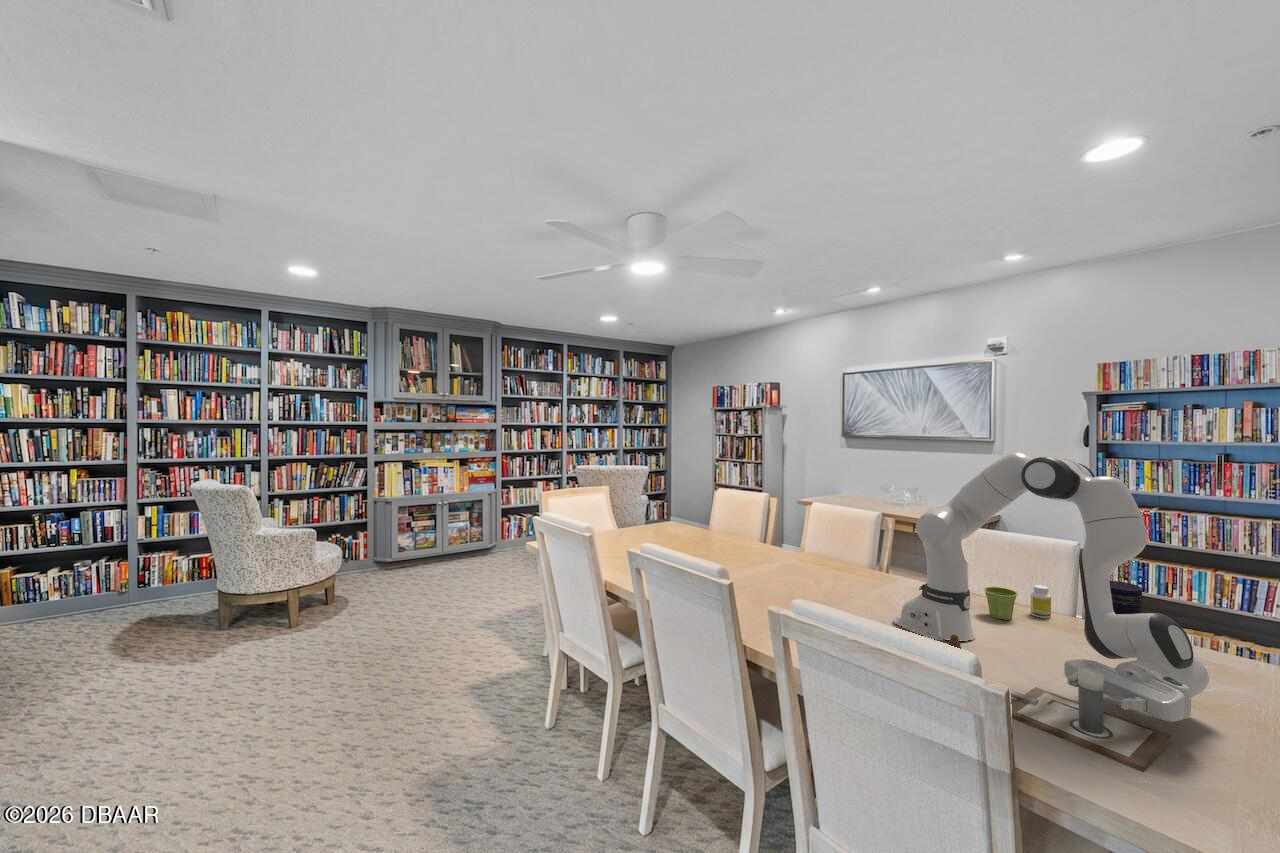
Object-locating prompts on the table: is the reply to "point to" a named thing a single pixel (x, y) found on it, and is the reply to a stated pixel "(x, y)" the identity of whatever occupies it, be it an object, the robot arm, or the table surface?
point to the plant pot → (1000, 602)
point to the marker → (1091, 700)
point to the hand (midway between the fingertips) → (1094, 692)
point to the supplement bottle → (1040, 602)
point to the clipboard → (1115, 742)
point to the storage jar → (1126, 598)
